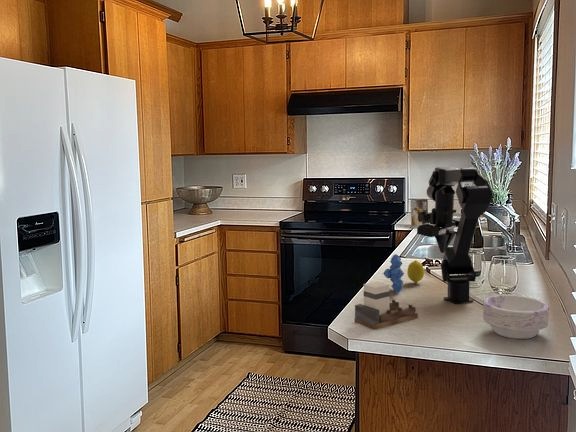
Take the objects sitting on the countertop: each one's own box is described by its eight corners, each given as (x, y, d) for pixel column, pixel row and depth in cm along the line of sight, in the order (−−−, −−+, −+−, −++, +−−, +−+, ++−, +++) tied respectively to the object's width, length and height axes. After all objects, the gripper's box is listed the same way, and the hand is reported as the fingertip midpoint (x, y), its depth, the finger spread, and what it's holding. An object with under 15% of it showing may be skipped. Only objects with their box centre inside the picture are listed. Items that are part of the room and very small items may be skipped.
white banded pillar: (377, 313, 156) (377, 281, 155) (389, 317, 152) (389, 284, 151) (363, 316, 153) (363, 284, 152) (375, 320, 149) (375, 287, 148)
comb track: (396, 311, 162) (396, 294, 162) (417, 317, 156) (417, 300, 155) (354, 322, 154) (354, 304, 153) (374, 329, 147) (374, 311, 146)
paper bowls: (553, 345, 132) (554, 312, 131) (484, 341, 136) (485, 309, 135) (543, 325, 147) (543, 295, 146) (481, 322, 151) (481, 293, 150)
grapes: (381, 286, 190) (381, 251, 189) (401, 286, 190) (401, 251, 188) (384, 295, 179) (384, 258, 177) (406, 295, 178) (406, 258, 177)
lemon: (405, 284, 193) (405, 261, 192) (410, 280, 198) (410, 258, 197) (421, 285, 190) (421, 262, 189) (425, 282, 195) (425, 259, 194)
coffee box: (427, 226, 321) (427, 198, 319) (428, 228, 315) (428, 199, 313) (410, 226, 323) (410, 198, 321) (411, 228, 316) (411, 199, 314)
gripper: (445, 198, 193) (443, 242, 196) (405, 205, 183) (404, 252, 187) (471, 203, 184) (469, 249, 187) (431, 211, 174) (429, 260, 177)
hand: (442, 252), depth 185 cm, fingers closed
